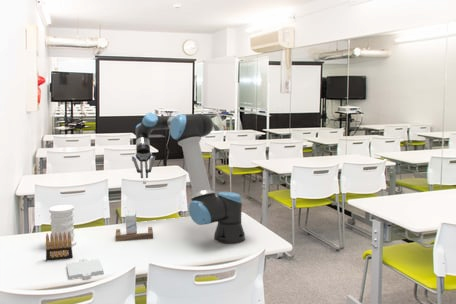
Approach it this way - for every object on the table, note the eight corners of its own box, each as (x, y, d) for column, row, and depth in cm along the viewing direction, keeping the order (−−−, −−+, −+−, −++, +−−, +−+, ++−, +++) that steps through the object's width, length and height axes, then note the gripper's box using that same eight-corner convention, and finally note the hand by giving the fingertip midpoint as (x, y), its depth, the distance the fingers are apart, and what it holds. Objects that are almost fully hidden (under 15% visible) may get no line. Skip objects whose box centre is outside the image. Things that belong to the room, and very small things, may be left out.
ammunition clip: (46, 261, 185) (44, 234, 183) (46, 259, 187) (45, 232, 185) (72, 258, 188) (71, 231, 186) (72, 256, 190) (71, 230, 188)
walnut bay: (153, 238, 213) (153, 233, 213) (115, 241, 209) (115, 236, 209) (152, 231, 224) (152, 226, 223) (116, 233, 220) (116, 229, 220)
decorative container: (45, 244, 204) (43, 207, 202) (69, 238, 213) (67, 203, 210) (57, 250, 196) (55, 212, 194) (80, 244, 205) (79, 207, 202)
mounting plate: (66, 265, 181) (66, 261, 181) (98, 260, 186) (98, 256, 186) (69, 283, 165) (69, 278, 165) (104, 277, 170) (104, 272, 170)
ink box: (136, 238, 213) (135, 215, 212) (125, 239, 212) (125, 215, 211) (137, 232, 222) (136, 210, 220) (127, 233, 221) (126, 211, 219)
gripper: (154, 151, 247) (156, 185, 233) (131, 151, 244) (132, 187, 230) (154, 143, 241) (157, 178, 227) (131, 143, 238) (131, 179, 225)
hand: (144, 182), depth 229 cm, fingers closed
